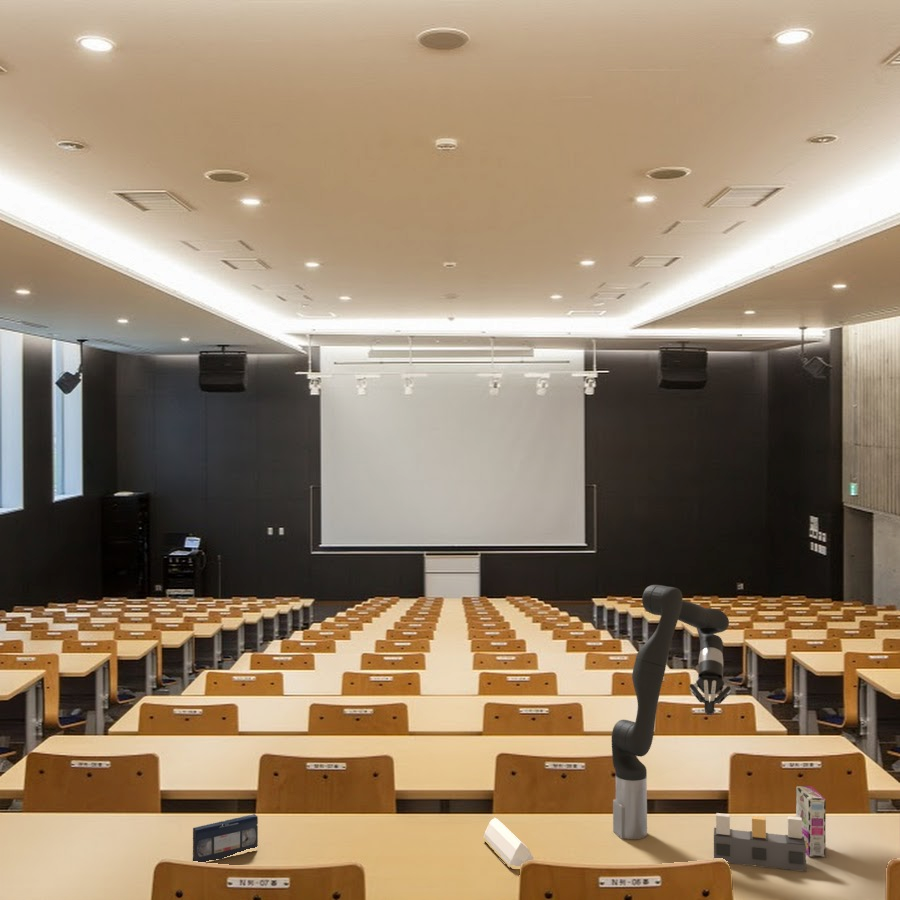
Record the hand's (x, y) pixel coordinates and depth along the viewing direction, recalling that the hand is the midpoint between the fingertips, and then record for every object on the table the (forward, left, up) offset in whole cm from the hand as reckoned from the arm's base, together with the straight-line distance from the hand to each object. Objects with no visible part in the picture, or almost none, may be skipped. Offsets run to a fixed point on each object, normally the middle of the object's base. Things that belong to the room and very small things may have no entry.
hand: (709, 713), depth 288 cm
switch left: (-9, -24, -26) cm, 37 cm away
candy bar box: (+19, -23, -34) cm, 45 cm away
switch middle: (-1, -28, -26) cm, 39 cm away
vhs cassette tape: (-144, +12, -34) cm, 149 cm away
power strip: (0, -27, -34) cm, 44 cm away
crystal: (-66, -5, -34) cm, 75 cm away
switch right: (+9, -31, -26) cm, 42 cm away
